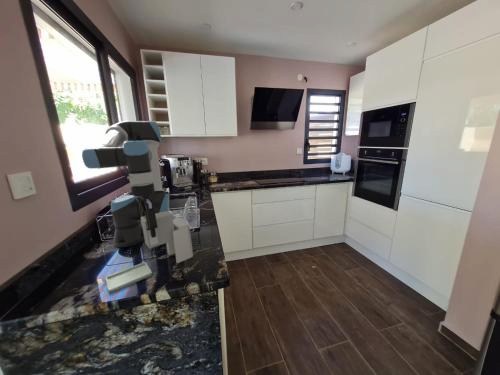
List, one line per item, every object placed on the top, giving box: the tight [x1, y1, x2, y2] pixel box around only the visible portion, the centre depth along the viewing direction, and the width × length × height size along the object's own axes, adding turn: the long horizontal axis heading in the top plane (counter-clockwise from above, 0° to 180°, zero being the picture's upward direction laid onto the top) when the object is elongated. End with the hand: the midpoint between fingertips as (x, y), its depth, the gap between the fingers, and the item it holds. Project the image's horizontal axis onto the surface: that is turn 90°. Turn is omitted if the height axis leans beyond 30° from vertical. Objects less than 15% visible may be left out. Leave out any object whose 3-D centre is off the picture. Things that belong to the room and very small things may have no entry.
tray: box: [104, 261, 153, 294], centre depth 73 cm, size 10×14×1 cm
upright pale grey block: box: [141, 211, 174, 250], centre depth 78 cm, size 6×10×11 cm, turn 131°
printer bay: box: [165, 217, 194, 264], centre depth 85 cm, size 11×7×15 cm, turn 41°
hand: (151, 240), depth 77 cm, fingers closed on upright pale grey block, 6 cm apart
